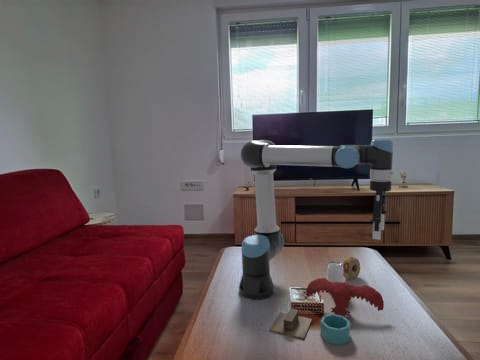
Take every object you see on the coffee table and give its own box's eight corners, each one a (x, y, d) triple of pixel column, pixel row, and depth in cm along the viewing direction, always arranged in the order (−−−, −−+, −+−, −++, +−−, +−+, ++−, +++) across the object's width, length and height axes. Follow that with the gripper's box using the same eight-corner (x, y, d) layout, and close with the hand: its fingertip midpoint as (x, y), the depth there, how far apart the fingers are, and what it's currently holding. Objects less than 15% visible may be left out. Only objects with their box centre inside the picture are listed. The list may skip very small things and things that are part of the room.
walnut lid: (269, 332, 109) (268, 319, 109) (280, 315, 120) (280, 303, 120) (303, 341, 104) (303, 327, 104) (312, 322, 115) (312, 309, 114)
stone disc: (347, 283, 143) (348, 261, 142) (340, 280, 146) (341, 259, 145) (361, 276, 149) (362, 256, 148) (354, 274, 152) (355, 254, 151)
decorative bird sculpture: (382, 333, 113) (384, 291, 121) (382, 327, 106) (384, 283, 114) (304, 316, 126) (310, 279, 133) (299, 309, 119) (306, 271, 126)
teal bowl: (318, 340, 104) (318, 325, 103) (324, 325, 112) (324, 312, 111) (347, 347, 100) (347, 332, 99) (350, 331, 108) (351, 317, 107)
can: (343, 294, 133) (344, 267, 131) (327, 293, 134) (328, 266, 132) (342, 287, 139) (342, 261, 137) (326, 286, 140) (327, 260, 139)
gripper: (388, 185, 109) (386, 245, 112) (393, 176, 131) (391, 227, 134) (365, 184, 113) (363, 242, 116) (374, 176, 134) (372, 225, 137)
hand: (378, 234), depth 125 cm, fingers open, 13 cm apart
